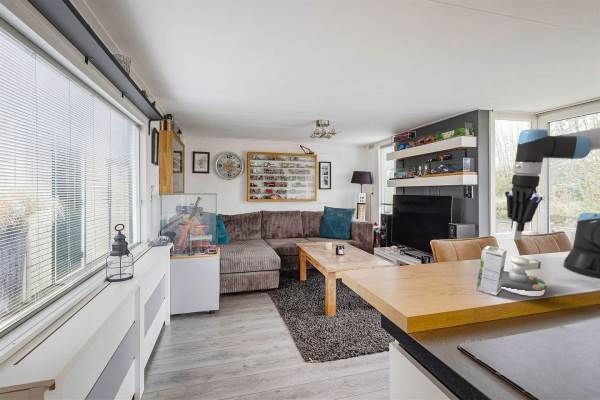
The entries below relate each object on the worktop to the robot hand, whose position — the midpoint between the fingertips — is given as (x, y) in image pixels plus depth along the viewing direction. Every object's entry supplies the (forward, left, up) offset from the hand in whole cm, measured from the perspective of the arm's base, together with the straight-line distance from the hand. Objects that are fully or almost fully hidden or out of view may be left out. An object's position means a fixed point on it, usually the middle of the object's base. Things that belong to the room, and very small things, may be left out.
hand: (515, 238), depth 103 cm
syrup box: (+18, +11, -14) cm, 25 cm away
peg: (+2, +8, -9) cm, 12 cm away
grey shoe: (+5, +8, -14) cm, 17 cm away
